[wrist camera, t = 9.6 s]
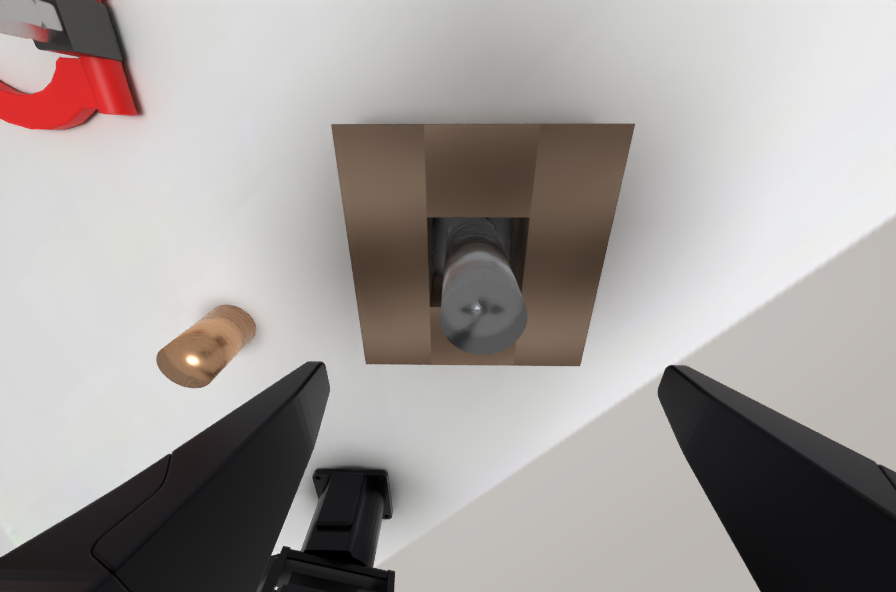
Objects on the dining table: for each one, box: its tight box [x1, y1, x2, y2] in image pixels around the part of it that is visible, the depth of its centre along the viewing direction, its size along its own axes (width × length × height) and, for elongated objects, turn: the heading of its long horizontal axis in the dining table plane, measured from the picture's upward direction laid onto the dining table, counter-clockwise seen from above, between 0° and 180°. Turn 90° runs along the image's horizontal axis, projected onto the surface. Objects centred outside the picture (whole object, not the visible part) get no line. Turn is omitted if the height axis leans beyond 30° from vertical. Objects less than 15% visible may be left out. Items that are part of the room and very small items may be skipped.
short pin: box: [156, 305, 256, 388], centre depth 20 cm, size 3×3×4 cm
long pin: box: [440, 217, 528, 355], centre depth 15 cm, size 3×3×9 cm
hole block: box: [331, 124, 635, 366], centre depth 18 cm, size 12×12×4 cm
